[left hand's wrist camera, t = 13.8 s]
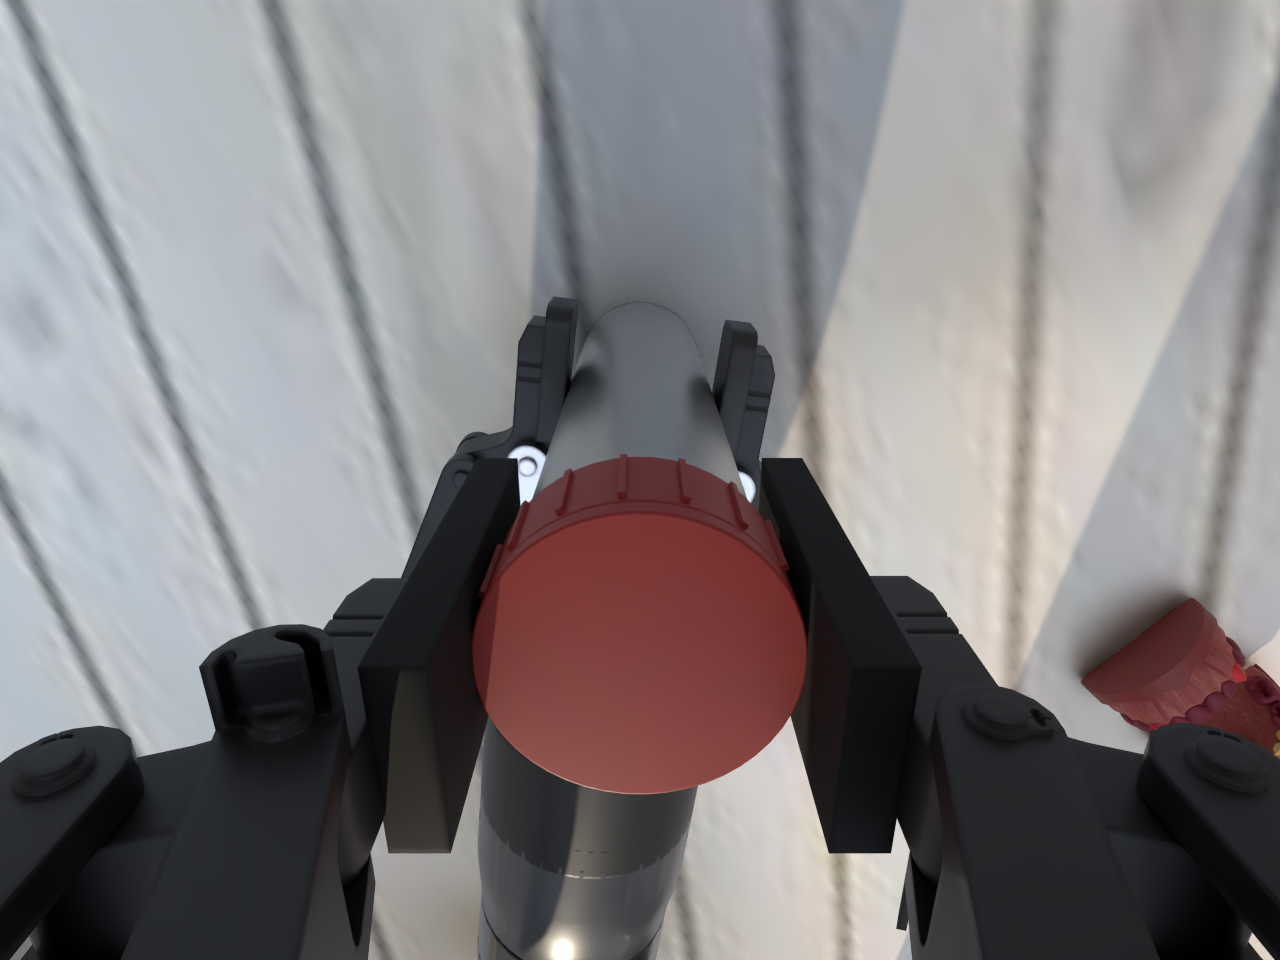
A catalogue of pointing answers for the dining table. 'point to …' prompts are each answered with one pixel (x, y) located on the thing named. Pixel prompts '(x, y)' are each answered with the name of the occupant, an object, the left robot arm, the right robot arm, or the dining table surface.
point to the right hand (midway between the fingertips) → (651, 317)
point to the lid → (639, 628)
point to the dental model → (1189, 680)
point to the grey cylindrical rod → (639, 399)
